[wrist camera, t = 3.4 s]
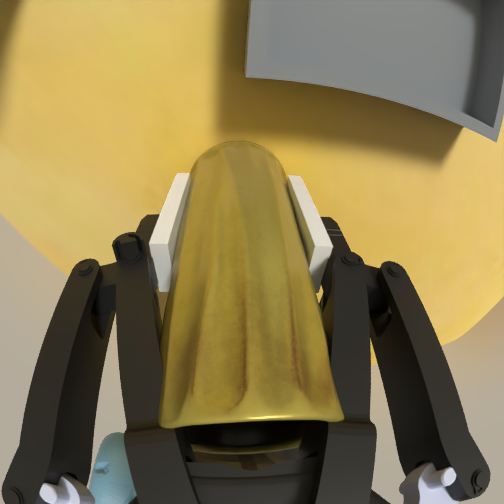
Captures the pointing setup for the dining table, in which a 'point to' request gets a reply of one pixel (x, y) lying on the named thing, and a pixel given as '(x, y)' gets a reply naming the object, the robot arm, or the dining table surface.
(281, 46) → the tray
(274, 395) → the vase
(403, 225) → the dining table surface
